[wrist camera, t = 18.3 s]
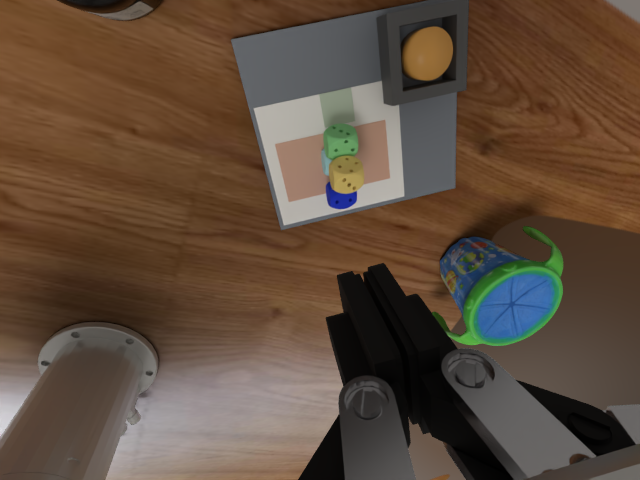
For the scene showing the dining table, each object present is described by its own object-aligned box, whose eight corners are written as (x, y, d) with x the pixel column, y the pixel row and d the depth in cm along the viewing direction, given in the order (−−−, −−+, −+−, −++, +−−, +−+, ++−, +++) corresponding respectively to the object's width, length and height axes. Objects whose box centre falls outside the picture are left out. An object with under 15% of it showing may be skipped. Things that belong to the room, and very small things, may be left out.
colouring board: (450, 185, 39) (467, 195, 36) (280, 226, 37) (283, 240, 34) (452, -4, 30) (474, -12, 27) (231, 40, 29) (229, 37, 26)
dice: (348, 196, 36) (366, 221, 30) (324, 200, 36) (338, 225, 30) (345, 117, 32) (364, 129, 27) (318, 120, 32) (332, 132, 26)
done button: (439, 74, 32) (452, 75, 30) (399, 83, 32) (409, 84, 29) (439, 25, 30) (453, 22, 28) (395, 34, 30) (407, 31, 27)
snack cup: (438, 317, 48) (480, 374, 39) (395, 277, 44) (432, 332, 35) (530, 243, 45) (599, 287, 36) (494, 192, 40) (563, 228, 32)
